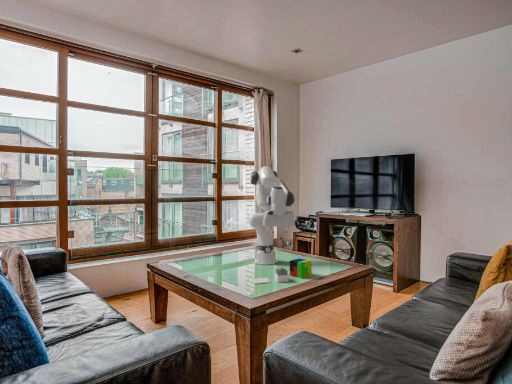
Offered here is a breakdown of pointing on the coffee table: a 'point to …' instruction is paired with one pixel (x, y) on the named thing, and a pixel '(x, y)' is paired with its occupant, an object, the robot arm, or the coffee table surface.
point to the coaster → (260, 280)
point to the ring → (281, 272)
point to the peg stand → (281, 277)
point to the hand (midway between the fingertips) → (279, 233)
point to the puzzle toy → (300, 268)
